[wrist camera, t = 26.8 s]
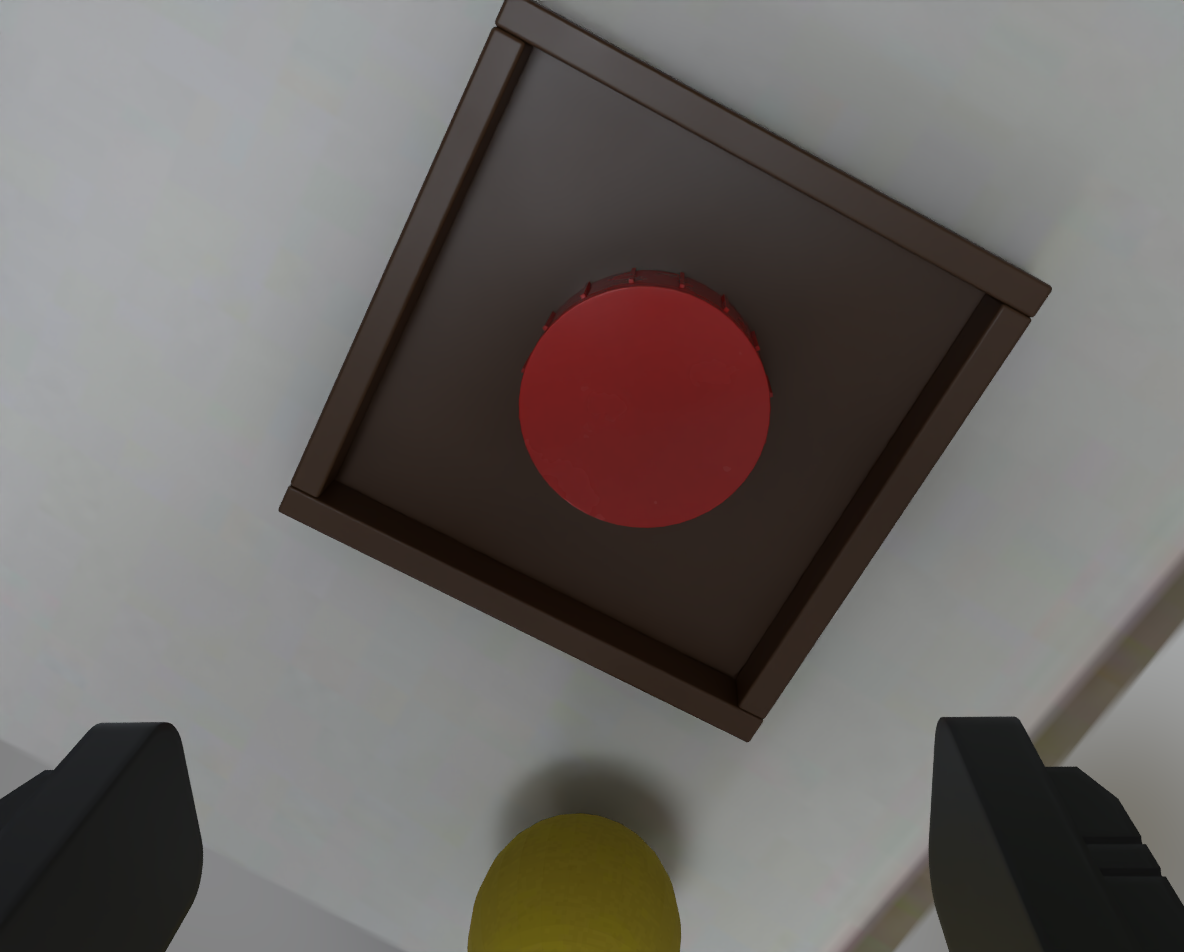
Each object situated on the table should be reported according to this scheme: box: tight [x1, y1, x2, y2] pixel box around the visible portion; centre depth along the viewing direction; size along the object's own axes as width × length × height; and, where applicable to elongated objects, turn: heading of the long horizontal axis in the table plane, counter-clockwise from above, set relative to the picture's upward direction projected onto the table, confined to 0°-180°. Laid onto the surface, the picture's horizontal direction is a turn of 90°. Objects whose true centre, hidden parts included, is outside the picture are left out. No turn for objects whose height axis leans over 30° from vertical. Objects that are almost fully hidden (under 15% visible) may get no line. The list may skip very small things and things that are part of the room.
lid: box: [519, 268, 773, 528], centre depth 27 cm, size 6×6×2 cm
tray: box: [279, 0, 1052, 742], centre depth 28 cm, size 14×14×2 cm
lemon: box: [468, 813, 681, 952], centre depth 29 cm, size 6×6×8 cm
